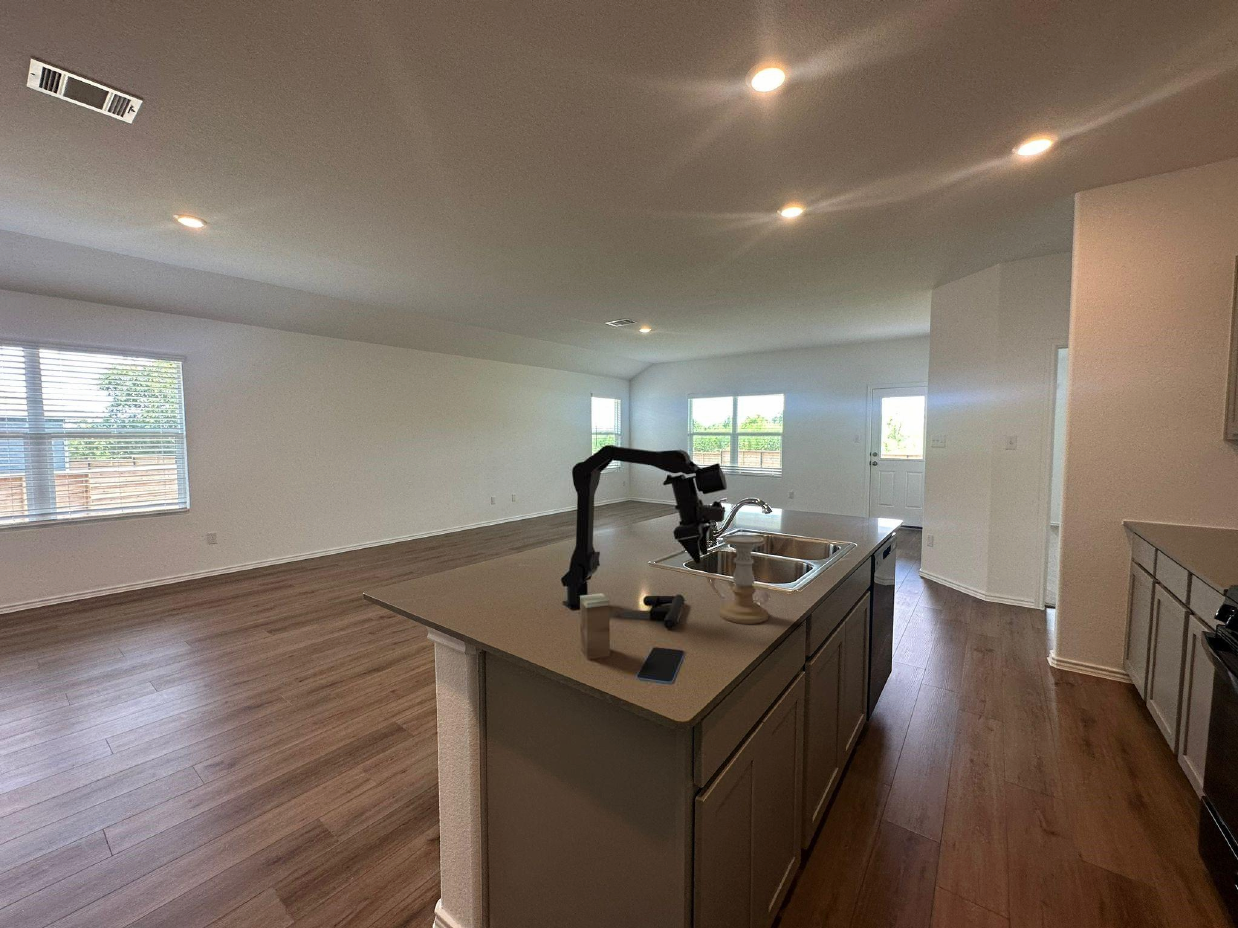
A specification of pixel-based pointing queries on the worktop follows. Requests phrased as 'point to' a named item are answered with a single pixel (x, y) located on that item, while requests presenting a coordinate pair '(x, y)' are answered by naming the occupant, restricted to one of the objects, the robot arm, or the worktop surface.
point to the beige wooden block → (595, 626)
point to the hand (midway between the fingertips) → (702, 558)
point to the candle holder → (743, 583)
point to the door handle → (659, 610)
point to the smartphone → (661, 665)
